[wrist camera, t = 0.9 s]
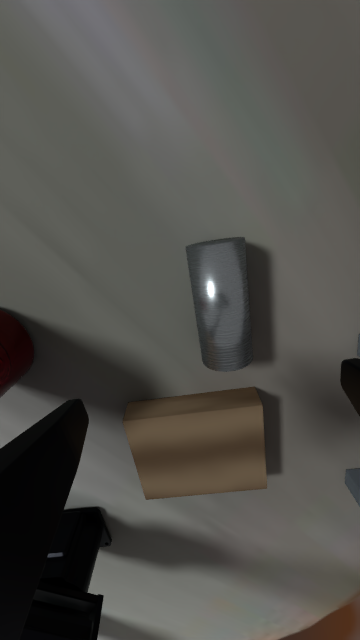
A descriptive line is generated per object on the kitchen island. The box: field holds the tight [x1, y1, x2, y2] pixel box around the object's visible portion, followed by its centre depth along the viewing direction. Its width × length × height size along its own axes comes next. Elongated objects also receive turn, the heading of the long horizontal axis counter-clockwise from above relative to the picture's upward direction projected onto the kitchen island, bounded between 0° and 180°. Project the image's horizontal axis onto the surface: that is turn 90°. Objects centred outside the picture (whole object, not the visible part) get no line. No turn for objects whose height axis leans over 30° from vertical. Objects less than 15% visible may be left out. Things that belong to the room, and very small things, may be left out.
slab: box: [123, 387, 267, 500], centre depth 25 cm, size 10×12×3 cm
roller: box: [186, 237, 253, 372], centre depth 19 cm, size 9×4×4 cm, turn 9°
